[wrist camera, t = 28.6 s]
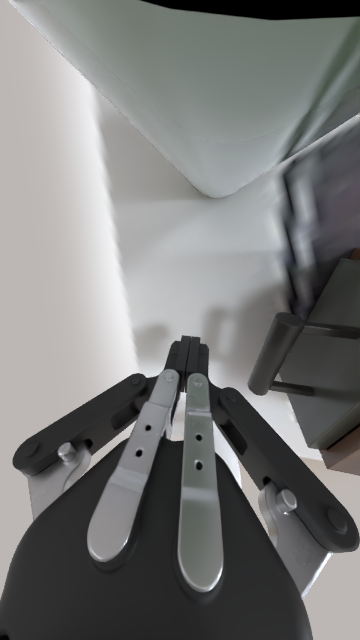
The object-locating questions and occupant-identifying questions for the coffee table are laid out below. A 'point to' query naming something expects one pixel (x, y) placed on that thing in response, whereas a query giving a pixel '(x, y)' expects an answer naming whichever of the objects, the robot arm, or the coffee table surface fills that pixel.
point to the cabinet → (345, 441)
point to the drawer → (318, 360)
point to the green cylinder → (215, 75)
